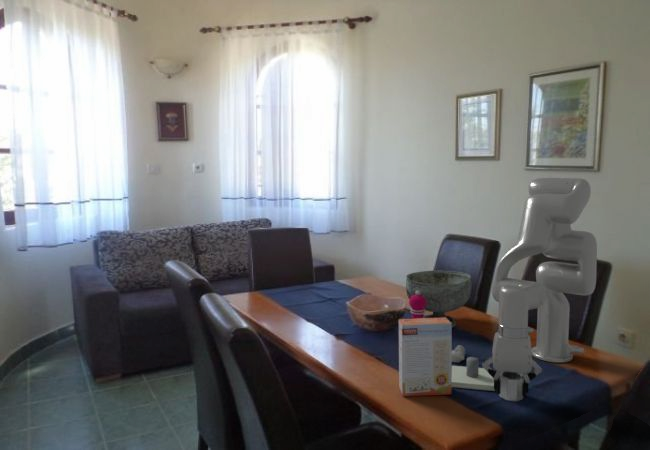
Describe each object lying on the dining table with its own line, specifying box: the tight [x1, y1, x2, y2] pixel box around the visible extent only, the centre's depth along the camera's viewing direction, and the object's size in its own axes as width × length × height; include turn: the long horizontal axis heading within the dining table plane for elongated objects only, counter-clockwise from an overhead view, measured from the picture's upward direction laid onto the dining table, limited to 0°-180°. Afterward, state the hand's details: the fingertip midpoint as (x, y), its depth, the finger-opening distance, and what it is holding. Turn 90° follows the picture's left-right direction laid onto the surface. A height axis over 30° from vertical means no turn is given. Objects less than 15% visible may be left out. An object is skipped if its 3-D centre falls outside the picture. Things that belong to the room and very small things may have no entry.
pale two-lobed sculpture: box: [452, 344, 466, 363], centre depth 165 cm, size 4×8×5 cm
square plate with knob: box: [451, 356, 496, 392], centre depth 149 cm, size 12×12×6 cm
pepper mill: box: [408, 291, 426, 319], centre depth 177 cm, size 7×7×20 cm
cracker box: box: [398, 318, 453, 397], centre depth 142 cm, size 14×6×21 cm, turn 92°
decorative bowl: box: [405, 269, 472, 328], centre depth 200 cm, size 26×26×20 cm
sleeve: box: [498, 372, 524, 402], centre depth 139 cm, size 6×6×6 cm
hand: (510, 392), depth 139 cm, fingers closed on sleeve, 6 cm apart
